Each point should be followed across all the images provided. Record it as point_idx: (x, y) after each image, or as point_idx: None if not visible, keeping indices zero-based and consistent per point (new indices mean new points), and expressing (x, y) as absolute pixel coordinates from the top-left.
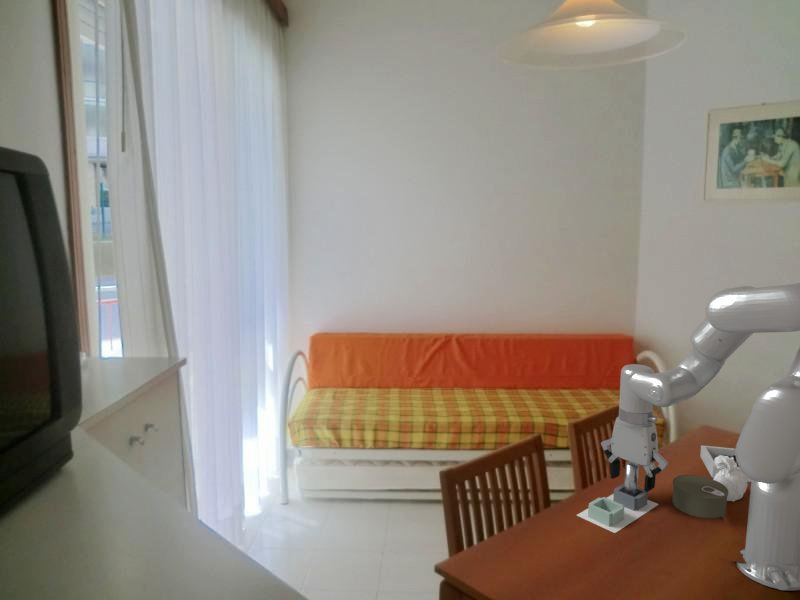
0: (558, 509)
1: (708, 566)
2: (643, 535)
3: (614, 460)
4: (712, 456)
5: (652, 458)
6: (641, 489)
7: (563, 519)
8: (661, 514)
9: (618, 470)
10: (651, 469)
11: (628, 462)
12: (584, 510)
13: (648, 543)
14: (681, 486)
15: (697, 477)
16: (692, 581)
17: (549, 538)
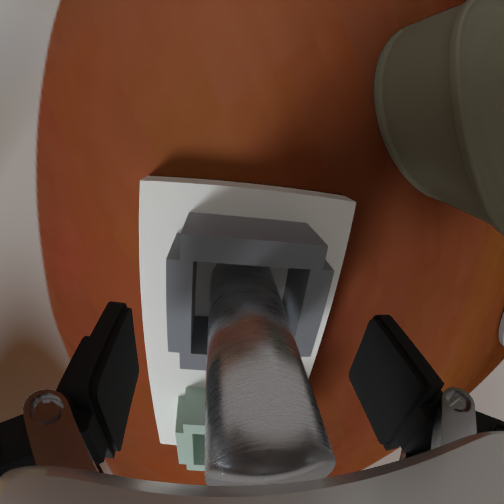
0: None
1: (459, 367)
2: (337, 382)
3: (98, 464)
4: None
5: (495, 444)
6: (290, 255)
7: (138, 435)
8: (362, 224)
9: (121, 350)
10: (437, 428)
11: (223, 474)
12: (156, 420)
13: (355, 397)
14: (493, 162)
15: (498, 8)
16: None
17: (175, 477)
